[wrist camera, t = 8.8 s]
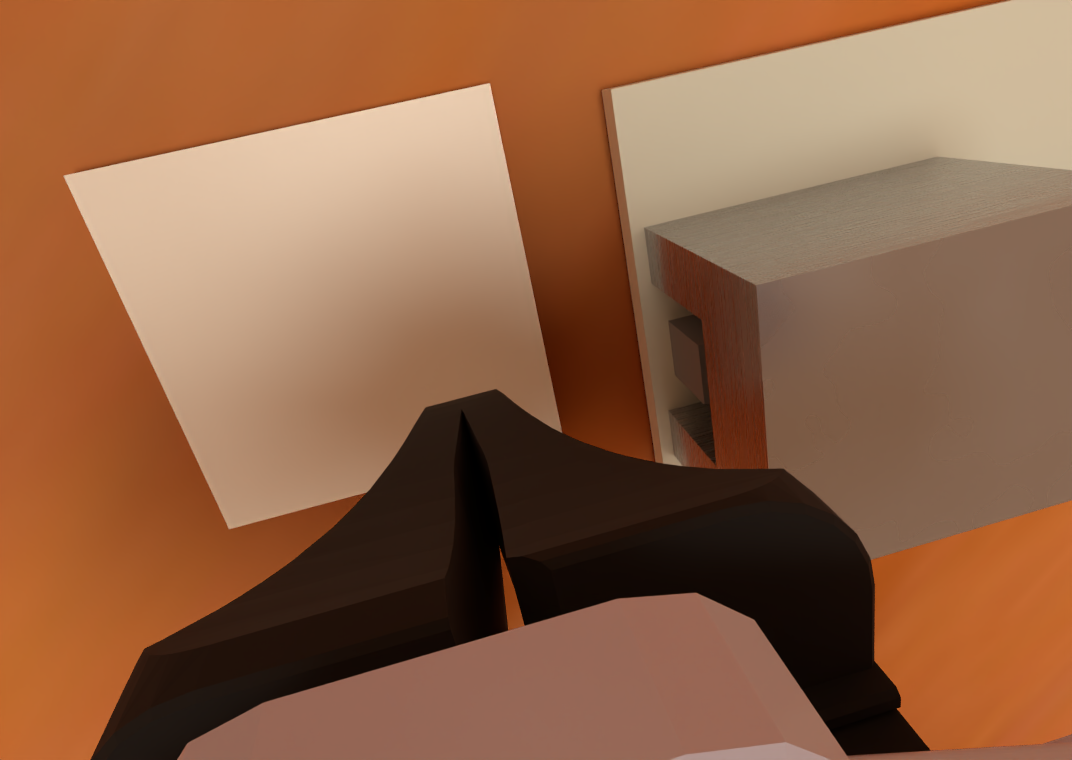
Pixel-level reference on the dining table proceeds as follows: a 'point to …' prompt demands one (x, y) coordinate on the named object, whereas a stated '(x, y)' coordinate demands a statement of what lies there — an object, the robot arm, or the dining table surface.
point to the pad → (323, 291)
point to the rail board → (824, 139)
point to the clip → (887, 343)
